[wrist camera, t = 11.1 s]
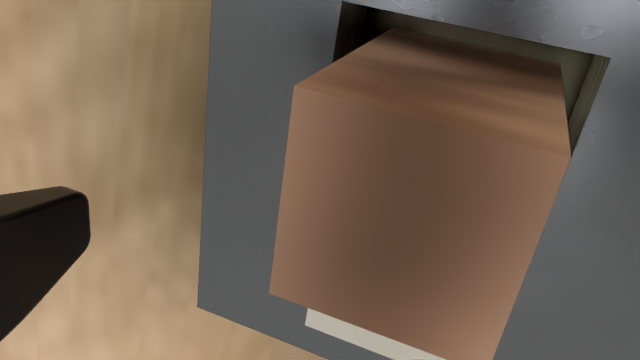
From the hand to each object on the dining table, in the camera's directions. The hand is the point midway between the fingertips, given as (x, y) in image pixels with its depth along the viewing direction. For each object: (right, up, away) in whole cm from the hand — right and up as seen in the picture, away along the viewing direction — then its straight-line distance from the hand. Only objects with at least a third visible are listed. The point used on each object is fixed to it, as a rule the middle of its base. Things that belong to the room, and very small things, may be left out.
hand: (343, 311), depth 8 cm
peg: (+3, +4, +8) cm, 9 cm away
